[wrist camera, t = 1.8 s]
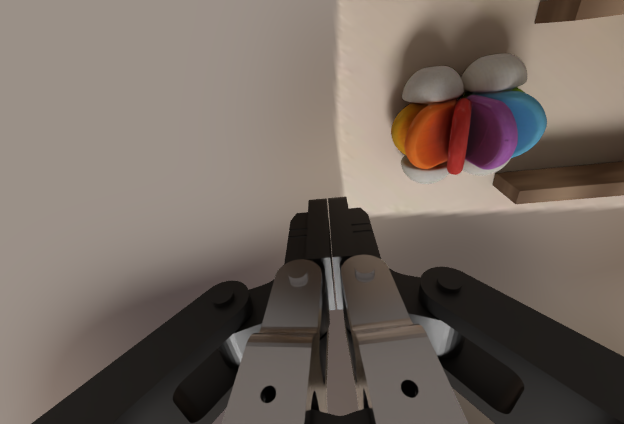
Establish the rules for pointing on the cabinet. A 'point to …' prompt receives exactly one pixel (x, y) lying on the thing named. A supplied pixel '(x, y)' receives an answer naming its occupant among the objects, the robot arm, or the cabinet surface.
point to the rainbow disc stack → (466, 119)
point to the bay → (573, 179)
